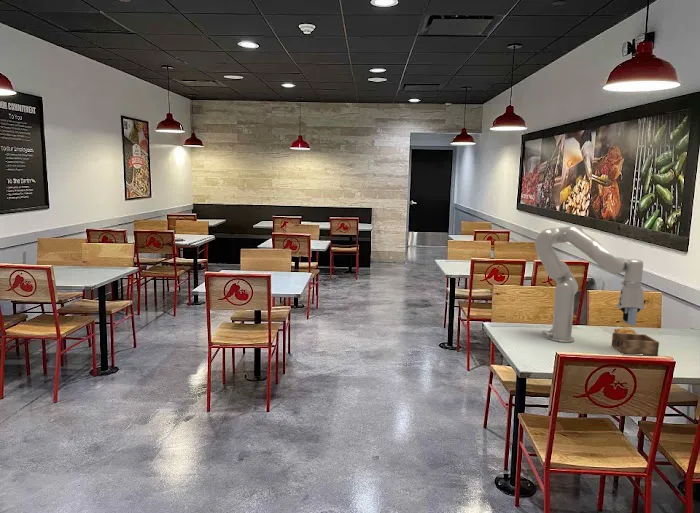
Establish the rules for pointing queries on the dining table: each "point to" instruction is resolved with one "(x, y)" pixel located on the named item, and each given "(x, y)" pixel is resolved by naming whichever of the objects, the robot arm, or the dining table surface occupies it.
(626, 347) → the wooden box
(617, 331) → the croissant
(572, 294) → the robot arm
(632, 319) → the blue-gray flat block
